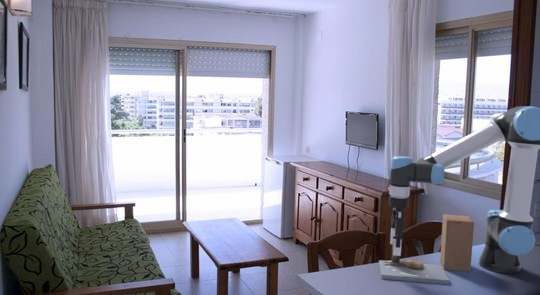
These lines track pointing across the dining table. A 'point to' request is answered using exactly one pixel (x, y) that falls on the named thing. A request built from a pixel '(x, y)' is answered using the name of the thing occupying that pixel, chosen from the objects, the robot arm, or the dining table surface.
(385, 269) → the board
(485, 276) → the dining table surface
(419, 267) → the dial
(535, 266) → the dining table surface
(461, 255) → the wooden block
